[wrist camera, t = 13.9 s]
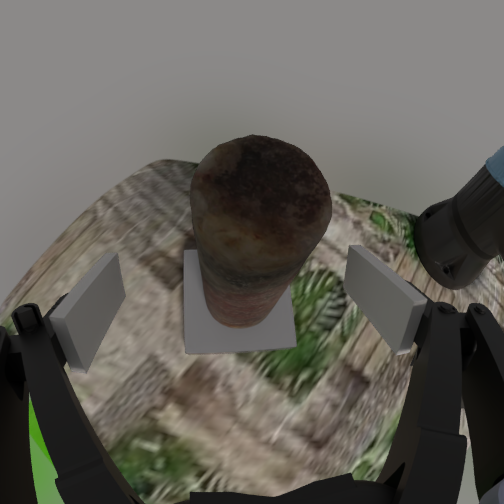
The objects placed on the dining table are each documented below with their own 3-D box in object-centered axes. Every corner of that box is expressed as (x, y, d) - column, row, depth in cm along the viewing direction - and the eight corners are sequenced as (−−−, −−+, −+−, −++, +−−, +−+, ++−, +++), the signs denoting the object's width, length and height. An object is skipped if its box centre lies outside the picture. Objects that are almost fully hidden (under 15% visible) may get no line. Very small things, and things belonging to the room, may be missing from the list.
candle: (271, 265, 33) (320, 136, 15) (277, 328, 30) (353, 255, 12) (205, 268, 32) (182, 134, 14) (206, 331, 29) (172, 262, 11)
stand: (280, 256, 37) (284, 246, 34) (290, 348, 32) (296, 346, 29) (187, 259, 36) (184, 249, 33) (188, 354, 31) (185, 353, 28)
